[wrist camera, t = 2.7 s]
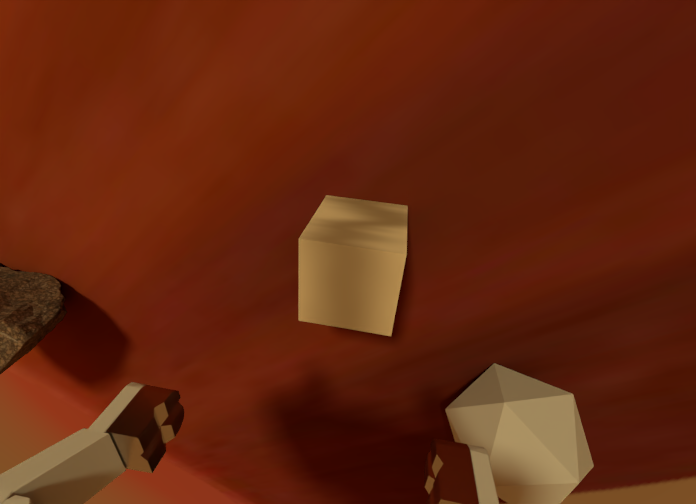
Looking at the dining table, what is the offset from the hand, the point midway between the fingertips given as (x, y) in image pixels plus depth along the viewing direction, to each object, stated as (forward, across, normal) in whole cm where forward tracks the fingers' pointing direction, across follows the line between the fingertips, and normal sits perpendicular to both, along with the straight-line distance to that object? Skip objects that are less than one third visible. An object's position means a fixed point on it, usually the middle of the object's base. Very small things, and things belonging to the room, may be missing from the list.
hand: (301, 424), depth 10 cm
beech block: (+13, 0, 0) cm, 13 cm away
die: (+13, -13, +11) cm, 21 cm away
